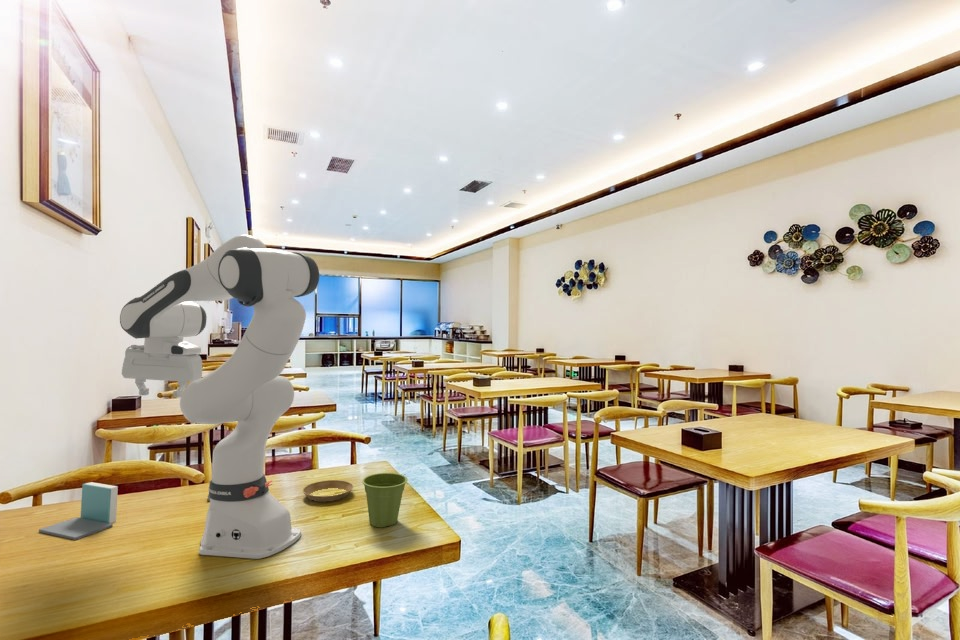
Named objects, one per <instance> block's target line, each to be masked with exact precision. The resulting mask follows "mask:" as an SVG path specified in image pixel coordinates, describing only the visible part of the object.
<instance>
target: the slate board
mask: <svg viewBox="0 0 960 640" xmlns="http://www.w3.org/2000/svg"><path fill="white" fill-rule="evenodd" d="M112 527H113V523H110V524H109V523H104V522H99V521H94V520H89V519H84V518H81V517H79V516H77V517H73V518H70V519H66V520H64V521H61V522H58V523H55V524H52V525H48V526H45V527H43V528H39V529H38V532H39V533H42V534H45V535H46V534H47V535H51V536H56V537H60V538H64V539H69V540H74V541H77V540H79V539H82V538H85V537H88V536H91V535H93V534H96V533H98V532H102V531H104V530H106V529H109V528H112Z"/></svg>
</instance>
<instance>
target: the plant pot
mask: <svg viewBox="0 0 960 640" xmlns="http://www.w3.org/2000/svg"><path fill="white" fill-rule="evenodd" d="M361 482H362V484H363V485H364V491H365V494H366V495H365V497H366V502H367V503H366V504H367V512H368V522H369V523H370V525H371V526H373V527H377V528H385V527H387V526H394V525H395V524H396V523H397V522H398V518H399V514H400V508H401V507H400V506H401V503H402V498H403V493H404V490H405V486H406V483H407V482H408V477H407V476H406V475H403V474H400V473H397V472H396V473H395V472H378V473H374V474H373V473H372V474H370V475H366V476H365V477H363V478H362V480H361ZM393 524H394V525H393Z"/></svg>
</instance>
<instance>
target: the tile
mask: <svg viewBox="0 0 960 640" xmlns="http://www.w3.org/2000/svg"><path fill="white" fill-rule="evenodd" d="M118 488H119V486H118V485H111V484H105V483H101V482H100V483H99V482H93V481H91V482H85V483H82V487H81V503H80V504H81V505H80V518H84V519H89V520H94V521H99V522H104V523H109V524H113V523H116V522H117V509H118V490H119V489H118Z"/></svg>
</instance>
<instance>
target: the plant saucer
mask: <svg viewBox="0 0 960 640" xmlns="http://www.w3.org/2000/svg"><path fill="white" fill-rule="evenodd" d="M328 488H338V489H344V490H346V491H347V492H345V493H342V494H338V495H333V496H313V495H310V494H311V493H313V492H315V491H318V490H322V489H328ZM353 488H354V485H353V483H351V482H349V481H347V480H346V481H345V480H340V479H339V480H338V479H337V480H336V479H335V480H334V479H333V480H332V479H331V480H330V479H329V480H328V479H327V480H321V481H316V482H313V483H310V484H308V485H305V486H304V488H302V492H303V494H304V495H305V497H307V498H308V499H309V500H311V501H312V500H314V501H313V502H316V501H322V502H321V503H326V501H331V502H335V501H334V500H336V501H339V500H342V499H344V498H346V497H347V496H348V495H349V493H351V491H352V490H353ZM343 497H344V498H343ZM341 498H342V499H341ZM338 499H339V500H338Z"/></svg>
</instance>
